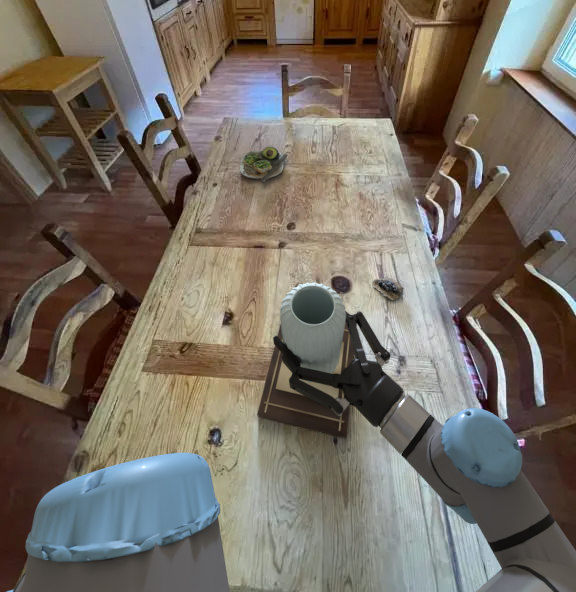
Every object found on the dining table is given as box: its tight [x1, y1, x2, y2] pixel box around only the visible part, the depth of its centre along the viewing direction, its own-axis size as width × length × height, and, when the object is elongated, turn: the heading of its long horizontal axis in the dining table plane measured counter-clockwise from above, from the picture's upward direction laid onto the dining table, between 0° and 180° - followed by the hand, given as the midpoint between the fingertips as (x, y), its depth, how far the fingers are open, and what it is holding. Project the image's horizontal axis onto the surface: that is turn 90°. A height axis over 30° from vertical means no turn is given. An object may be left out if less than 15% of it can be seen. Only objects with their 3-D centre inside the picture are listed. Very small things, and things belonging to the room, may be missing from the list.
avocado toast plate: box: [239, 146, 288, 183], centre depth 128 cm, size 19×18×5 cm
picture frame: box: [256, 322, 358, 440], centre depth 76 cm, size 24×18×2 cm
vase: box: [279, 281, 347, 383], centre depth 65 cm, size 12×12×22 cm
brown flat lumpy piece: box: [372, 277, 405, 301], centre depth 89 cm, size 7×8×2 cm
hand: (298, 318), depth 67 cm, fingers closed on vase, 11 cm apart
